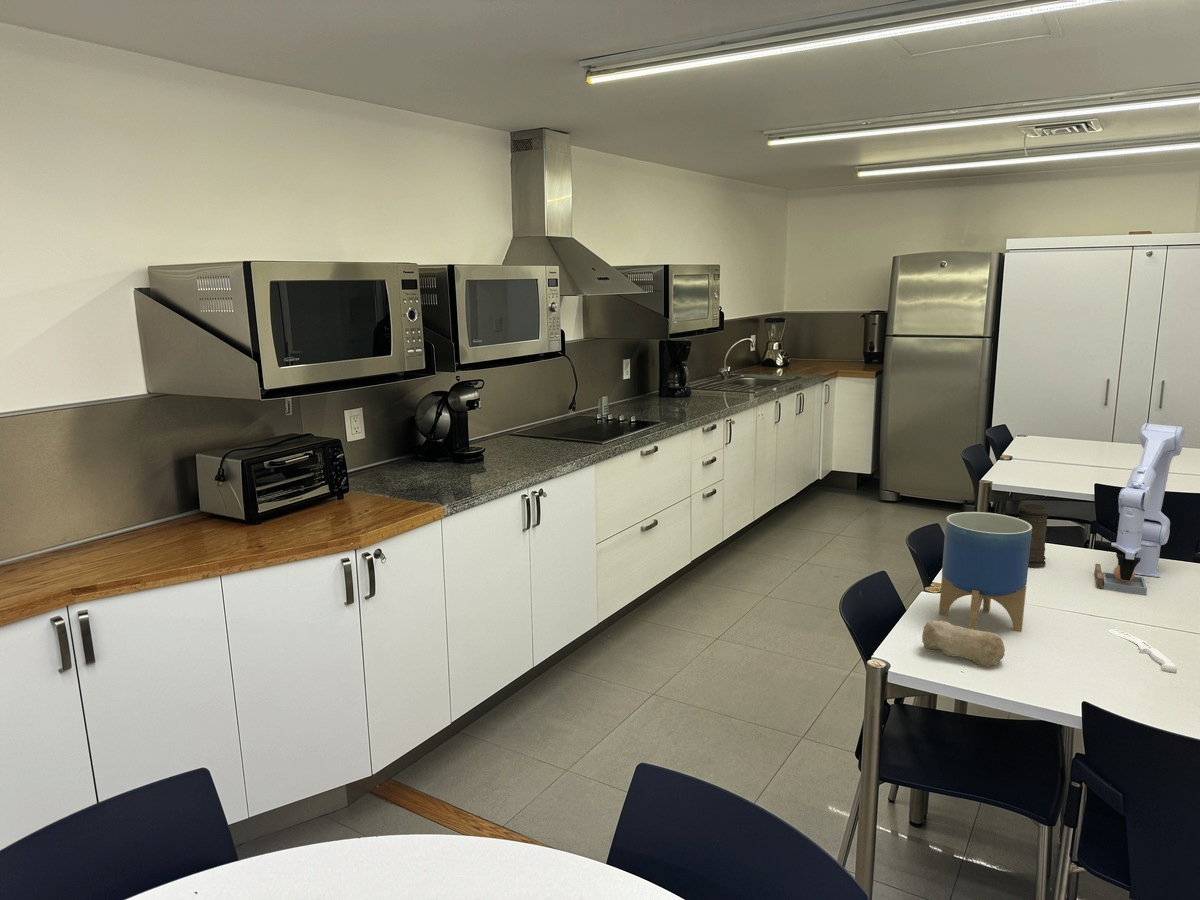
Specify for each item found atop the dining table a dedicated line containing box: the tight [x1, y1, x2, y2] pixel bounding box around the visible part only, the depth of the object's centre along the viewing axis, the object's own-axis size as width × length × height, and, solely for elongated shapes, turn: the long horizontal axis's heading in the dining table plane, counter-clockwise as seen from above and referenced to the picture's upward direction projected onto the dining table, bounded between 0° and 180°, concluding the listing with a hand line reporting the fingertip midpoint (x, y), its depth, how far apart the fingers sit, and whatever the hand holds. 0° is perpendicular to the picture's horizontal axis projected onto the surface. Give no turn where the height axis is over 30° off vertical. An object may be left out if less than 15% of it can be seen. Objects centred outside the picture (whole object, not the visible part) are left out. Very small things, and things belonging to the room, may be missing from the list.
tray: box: [1102, 571, 1148, 596], centre depth 230 cm, size 10×10×2 cm
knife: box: [1108, 628, 1178, 674], centre depth 194 cm, size 30×2×8 cm
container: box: [1017, 503, 1050, 569], centre depth 249 cm, size 9×9×18 cm
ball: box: [1113, 565, 1136, 582], centre depth 230 cm, size 5×5×5 cm
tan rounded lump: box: [921, 619, 1006, 667], centre depth 186 cm, size 9×17×10 cm
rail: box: [1093, 563, 1103, 590], centre depth 235 cm, size 14×1×3 cm, turn 152°
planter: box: [938, 511, 1032, 633], centre depth 204 cm, size 19×19×26 cm
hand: (1124, 576), depth 230 cm, fingers closed on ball, 5 cm apart
